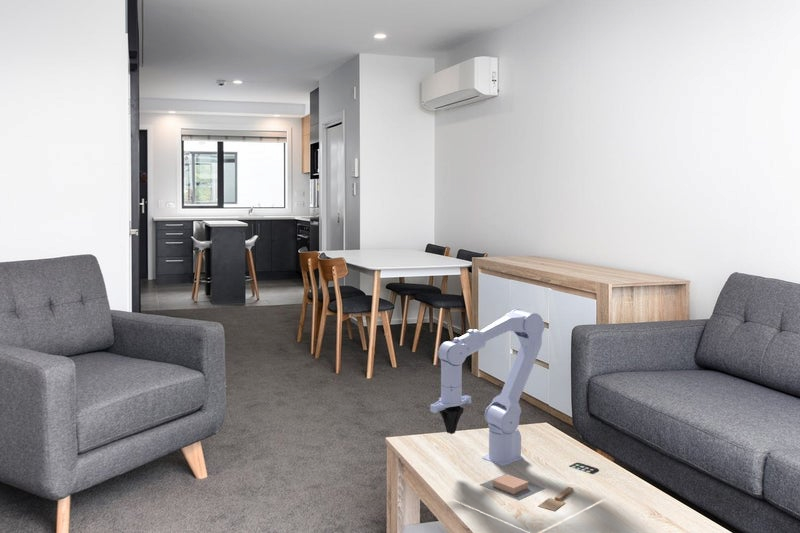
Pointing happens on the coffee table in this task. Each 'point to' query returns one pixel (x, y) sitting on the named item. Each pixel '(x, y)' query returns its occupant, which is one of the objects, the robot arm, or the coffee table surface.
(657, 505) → the coffee table surface
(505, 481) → the tile
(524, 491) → the mat
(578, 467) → the smartphone
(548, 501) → the walnut turner
